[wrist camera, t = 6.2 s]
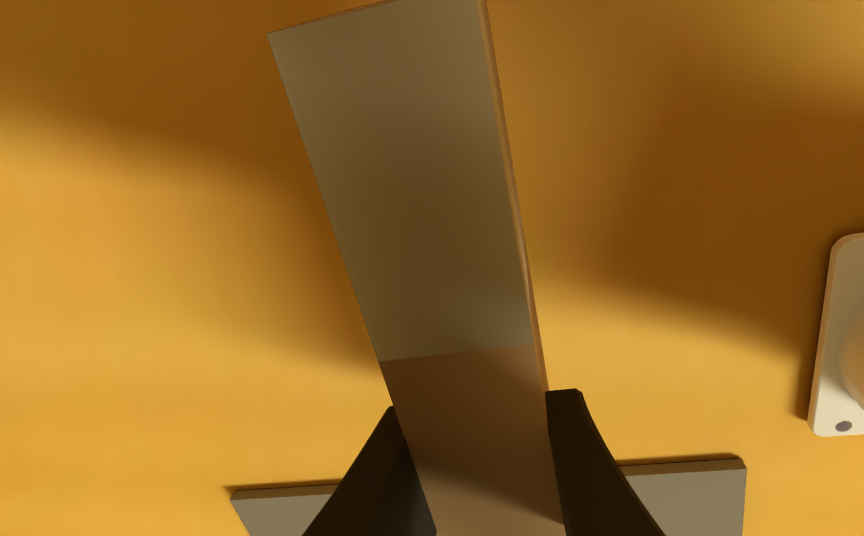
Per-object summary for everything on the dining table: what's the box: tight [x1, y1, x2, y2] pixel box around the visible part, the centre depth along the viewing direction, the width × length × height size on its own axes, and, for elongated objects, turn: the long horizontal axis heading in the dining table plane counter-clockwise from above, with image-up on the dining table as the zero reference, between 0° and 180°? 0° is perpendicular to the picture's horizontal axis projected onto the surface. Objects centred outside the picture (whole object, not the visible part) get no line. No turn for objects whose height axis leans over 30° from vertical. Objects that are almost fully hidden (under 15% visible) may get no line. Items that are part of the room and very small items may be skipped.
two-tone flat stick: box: [266, 0, 566, 536], centre depth 12 cm, size 2×16×4 cm, turn 13°
